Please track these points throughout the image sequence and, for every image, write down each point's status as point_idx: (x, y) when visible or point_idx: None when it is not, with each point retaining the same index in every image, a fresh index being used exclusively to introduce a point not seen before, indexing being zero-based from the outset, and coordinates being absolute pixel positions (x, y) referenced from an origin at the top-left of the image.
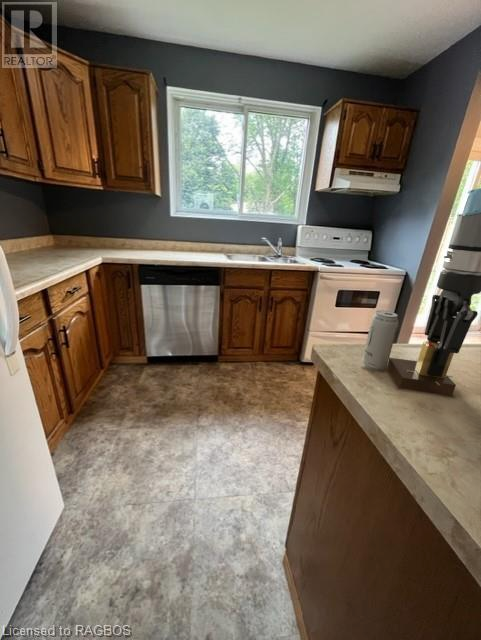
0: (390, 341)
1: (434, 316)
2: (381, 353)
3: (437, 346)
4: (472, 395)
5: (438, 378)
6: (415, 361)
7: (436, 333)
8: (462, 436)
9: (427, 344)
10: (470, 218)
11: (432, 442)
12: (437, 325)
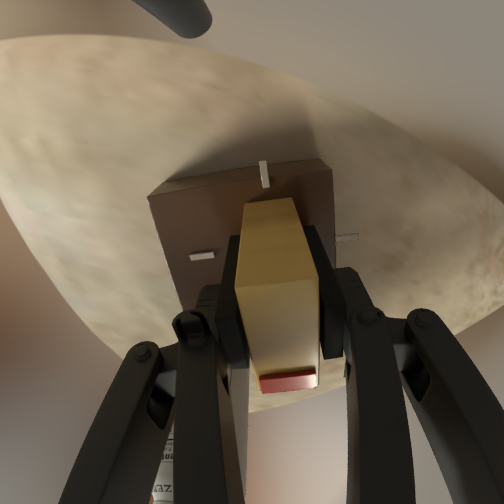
0: (235, 421)
1: (139, 491)
2: (247, 392)
3: (308, 355)
4: (280, 80)
5: (300, 221)
6: (175, 271)
7: (228, 404)
8: (478, 209)
9: (298, 386)
10: None
11: (487, 269)
12: (237, 466)
